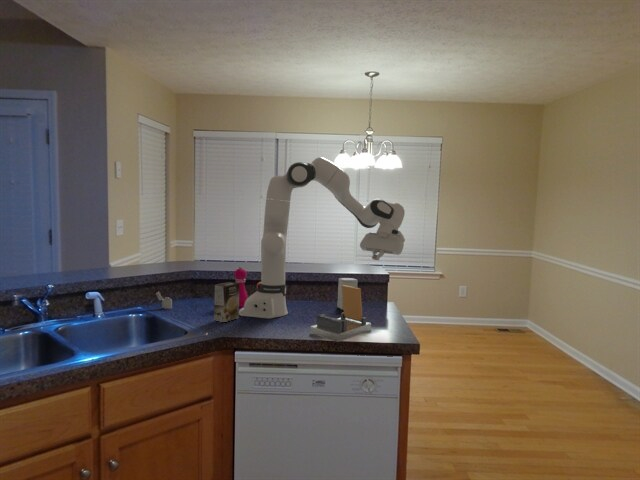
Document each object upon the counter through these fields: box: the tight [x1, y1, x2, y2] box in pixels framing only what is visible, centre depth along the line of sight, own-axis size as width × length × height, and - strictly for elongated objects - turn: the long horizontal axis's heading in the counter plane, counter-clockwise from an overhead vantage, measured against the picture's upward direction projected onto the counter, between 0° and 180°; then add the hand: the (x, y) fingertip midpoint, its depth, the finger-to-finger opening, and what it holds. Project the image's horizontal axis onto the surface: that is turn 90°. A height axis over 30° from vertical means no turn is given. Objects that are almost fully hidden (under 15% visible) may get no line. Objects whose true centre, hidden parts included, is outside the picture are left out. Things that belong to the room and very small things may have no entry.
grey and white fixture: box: [309, 311, 372, 343], centre depth 179 cm, size 22×14×7 cm, turn 138°
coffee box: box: [213, 281, 240, 323], centre depth 191 cm, size 9×6×16 cm
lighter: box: [155, 291, 173, 310], centre depth 207 cm, size 7×2×8 cm, turn 95°
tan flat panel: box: [342, 285, 363, 322], centre depth 183 cm, size 15×9×1 cm
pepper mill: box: [234, 265, 249, 308], centre depth 216 cm, size 7×7×20 cm
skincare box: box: [336, 277, 358, 311], centre depth 218 cm, size 8×6×15 cm
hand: (375, 259), depth 195 cm, fingers closed
